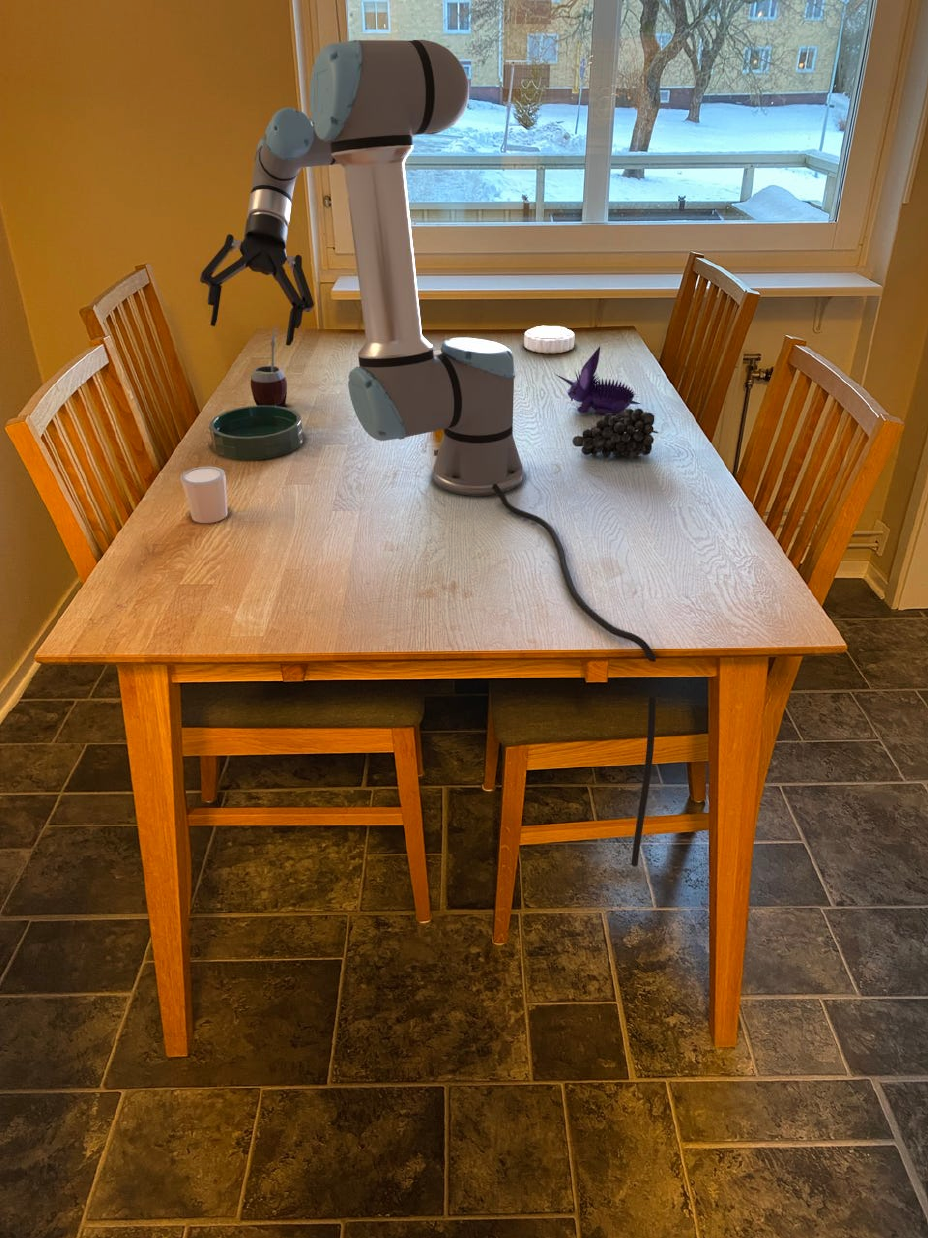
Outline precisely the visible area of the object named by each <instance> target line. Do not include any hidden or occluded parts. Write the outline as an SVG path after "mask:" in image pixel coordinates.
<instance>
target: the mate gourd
mask: <svg viewBox="0 0 928 1238" xmlns="http://www.w3.org/2000/svg"><path fill="white" fill-rule="evenodd" d="M277 331H278V326H275V327H274V329H273V333H272V338H271V341H270V347H271V354H270V355H271V356H270V365H266V366H265V365H264V366H260V367H257V368H254V370H253V371H252V374H251V375H250V389H251V393H252V399H253V401H254V403H255V406H258V405H270V406H280V407H286V408H288V404H287V402H286V401H287V396H288V382H287V378H286V375H285V373H284V372H283V370H282V369H280V367H278V366H275V347H276V341H275V340H276V334H277Z"/></svg>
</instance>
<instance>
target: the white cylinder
mask: <svg viewBox="0 0 928 1238" xmlns="http://www.w3.org/2000/svg"><path fill="white" fill-rule="evenodd" d="M179 478H180V482H181V486H182V489H183V493H184V496H185V500H186V503H187V506H188V509H189V512H190V517H191V519H192V521H194V522H196V523H200V524H212V523H216V522H219V521H222V520H224V519H225V518H226V517H227V516H228V513H229V512H228V500H227V499H228V498H227V496H228V495H227V481H226V472H225V470H223V469H222V468H220V467H215V466H201V467H195V468H191V469H189V470H186V471H184V472H183V473H182V474H181V475H180V477H179Z"/></svg>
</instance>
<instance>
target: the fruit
mask: <svg viewBox="0 0 928 1238" xmlns="http://www.w3.org/2000/svg"><path fill="white" fill-rule="evenodd" d="M654 423H655V415H654V414H653V413H652V412H647V411H644V410H643V409H642V408H635V409H634V410H633V409H632V408H626V409H625V410H624V411H622V412H620V413H615V415H614V414H611V413H607V414H604V416H603V419H601V418H600V419H598V420H597V421H596V422H595V425H593V426H591V428H586V429H584V430H583V431H582V435H576V436H573V438H572V444H573V446H574V447H581V453H582V454H583V455H585V456H589V455H594V456H596V455H598V454H599V453H600V454H601V456H602V457H603V458H606V459H607V458H609V457H610V456H611V454H612V456H615V457H621V458H622V457H626V458H628V459H635V458H636V456H638V455H641V454H642V455H644V456H649V455H650V454H651V452H652V450H653V445H652V444H654V440H655V439H654V437H653V435H652V433H654V434H659V432H658V431H656V430H654V426H653V425H654Z"/></svg>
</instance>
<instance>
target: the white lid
mask: <svg viewBox="0 0 928 1238" xmlns="http://www.w3.org/2000/svg"><path fill="white" fill-rule="evenodd" d="M523 335H524V337H523V346H524V348H526V350H528V351H531V352H536V353H538V354H561V353H566V352H569V351H571V350H573V348H574V347H575V338H576V336H575V332H574V331H572V330H571V329H568V328H566V327H564V326H560V325H540V326H535V327H532V328H530V329H526V331H524V334H523Z"/></svg>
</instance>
